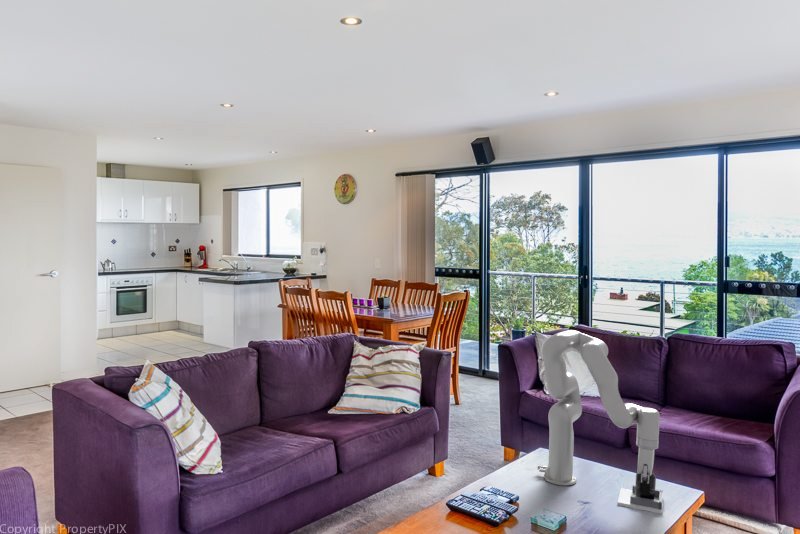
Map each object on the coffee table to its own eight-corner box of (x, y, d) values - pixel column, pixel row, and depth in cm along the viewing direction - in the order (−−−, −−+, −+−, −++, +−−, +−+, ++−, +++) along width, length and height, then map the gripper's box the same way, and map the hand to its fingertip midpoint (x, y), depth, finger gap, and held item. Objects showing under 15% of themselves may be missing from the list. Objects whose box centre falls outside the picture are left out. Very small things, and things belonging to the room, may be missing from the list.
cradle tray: (617, 504, 212) (617, 495, 212) (620, 490, 225) (621, 481, 225) (662, 514, 206) (662, 504, 206) (663, 498, 219) (663, 489, 218)
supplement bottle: (656, 502, 211) (658, 470, 210) (636, 500, 212) (638, 468, 212) (652, 494, 218) (654, 463, 217) (633, 492, 219) (634, 461, 218)
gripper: (637, 433, 223) (635, 479, 224) (634, 447, 208) (632, 496, 209) (659, 437, 220) (656, 483, 221) (657, 451, 205) (655, 500, 205)
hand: (645, 489), depth 215 cm, fingers closed on supplement bottle, 6 cm apart
